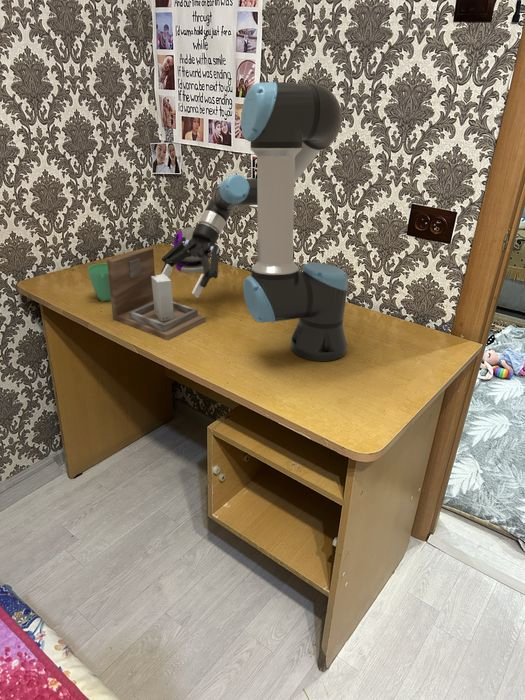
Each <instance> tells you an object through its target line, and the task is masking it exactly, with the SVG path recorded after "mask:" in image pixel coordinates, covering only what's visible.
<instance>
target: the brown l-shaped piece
mask: <svg viewBox="0 0 525 700" xmlns="http://www.w3.org/2000/svg"><path fill="white" fill-rule="evenodd" d="M154 253H155V252H154V248H152V247H146V248H143V249H139V250H136V251H133V252H129V253H126V254H123V255H120V256H116V257H114V258H110V259H107V260H106V261H107V262H106V263H107V265H108V275H109V285H110V295H111V300H110V302H111V314H112V315H111V316H112V319H113V320H115V321H117V322H120V323H123V324H125V325H128V326H129V327H133V328H135V329H138V330H141V331H143V332H146V333H148V334H151V335H154V336H155V337H159V338H161V339H164V340H167V341H170V340H171V339H173V338H176V337H177V336H179V335H181V334H183V333H185V332H187V331H189V330H191V329H193V328H195V327H197V326H199V325H201V324H204V323H205V322H206V316H204V315H202V314H199V311H198V309H197V308H194V307H190V306H188V305H184V304H182V303H179V302H176V301H173V311H174V319H173V320H169V321H160V320H159V319H158V317H157V316H156V315H155V311H154V300H153V290H152V279H151V276H155V275H156V274H155V273H156V272H155V256H154V255H155V254H154Z"/></svg>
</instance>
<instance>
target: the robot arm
mask: <svg viewBox="0 0 525 700" xmlns="http://www.w3.org/2000/svg"><path fill="white" fill-rule="evenodd" d="M342 115H343V114H342V108H341V106H340V103H339V100H338V99H337V98H336V95H334V93H333V92H332V91H331V90H329V89H328V88H327V87H325V86H323V85H321V84H316V83H295V82H281V81H280V82H279V81H270V82H269V81H265V82H257V83H256V82H255V83H254V84H253V85H251V87H250V88H249V89H248V91H247V92H246V95H245V97H244V100H243V104H242V108H241V114H240V129H241V135H242V137H243V139H245V140H246V141H248V142H250V150H251V151H252V152H253V153H254V155H255V156H256V159H257V160H256V161H257V162H256V163H257V164H256V165H257V168H256V170H257V172H256V173H257V174H256V176H257V178H256V177H255V178H246V177H244V176H242V175H240V174H231V175H229V176H228V177H227V178H225V179H224V180H223V181H221V182H219V183H218V185H217V186H216V188H215V189H214V190H213V194H212V196H211V197H210V200H209V201H208V203H207V206H206V208H205V209H204V211H203V213H202V215H201V217H200V218H199V220H198V224H196V226H195V227H194V228H195V229H194V231H193V234H192V238H191V240H187V239H186V238H185V237H182V239H181V240H180V242H179V243H178V244H177V245H176V246H175V247H174V246H173V248H171V249H170V250H169V251H168V252H167V253H166V254H165V255H164V256H163V257H161V261H162V262H163V263H164V265H163V267H162V269H161V270H160V275H162V274H165V275H166V276H167V277H168V278H169V277H170V276H171V274H172V272H173V269H174V268H173V267H174V266H176V264H177V263H179V262H180V261H182V260H184V259H185V258H187V257H191V256H194V257H198V258H201V259H202V264H203V269H204V271H203V273H201V274H200V276H199V278H198V280H197V282H196V284H195V286H194V287H193V289H192V292H191V294H192V295H193V296H194V297H195V298H197V299H198V298H199V296H200V295H201V293H202V291H203V290H204V288H206V287H207V285H208V283H209V281H210V280H211V279H218V275H219V256H220V253H221V249H220V247H219V246H218V245H217V244H216V243H217V242H218V240H219V237H220V235H221V234H222V232H223V230H224V228H225V226H226V224H227V222H228V220H229V218H230V216H231V214H232V213H233V211H234V210H235V209H236V208H237V207H240V206H241V207H242V206H244V207H245V206H256V205H257V212H256V213H257V261H256V263H254V264H253V265H252V267H251V275H249V276H247V277H245V278H244V281H243V285H242V287H243V288H242V291H243V297H244V302H245V306H246V308H247V311H248V312H249V314H250V316H251V318H253V320H254V321H255V322H257V323H275V322H281V321H289V320H296V319H297V320H298V322H297V325H296V326H295V328H294V331H293V333H292V335H291V338H290V350H291V351H292V352H293V353H294V354H295V355H297V356H298V357H300V358H303V359H306V360H309V361H315V362H331V360H332V361H336V360H339V359H341V358H342V357H344V356H345V355H344V354H346V353H345V352H347V343H348V342H347V339H346V334H345V330H344V325H343V324H344V315H345V308H346V300H347V293H348V292H347V291H348V290H349V289H348V288H349V286H348V281H349V280H348V279H349V277H348V274H347V272H346V271H344V270H343V269H342V268H339V267H337V266H334V265H331V264H328V263H322V262H307V263H305V264H304V265H303V267H302V271H300V270H299V269H300V267H299V266H298V265H297V264H296V263H295V262H294V224H295V223H294V222H295V221H294V218H295V217H294V216H295V215H294V214H295V213H294V212H295V183H296V182H297V181H298V179H300V177H301V176H302V175H303V173H304V172H305V171H306V170H307V168H308V167H309V166H310V165H311V163H312V162H313V161H314V160H315V158H316V157H317V156H318V155H319V153H320V152H321V151H325V150H327V149H328V148H329V147H330V146H332V144H333V143H334V141H335V140H336V138H337V137H338V135H339V133H340V131H341V126H342V122H343V121H342V119H343V116H342ZM188 250H189V252H188ZM209 253H211V255H210V258H209ZM209 260H210V262H209ZM169 279H170V278H169ZM343 355H344V356H343ZM340 357H341V358H340ZM338 358H339V359H338Z"/></svg>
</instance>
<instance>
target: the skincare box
mask: <svg viewBox="0 0 525 700" xmlns="http://www.w3.org/2000/svg"><path fill="white" fill-rule="evenodd" d="M151 279H152V290H153V300H154V311H155V315H156V316H157V317H158V319H159V320H160V321H169V320H173V319H174V311H173V302H174V300H173V298H174V297H173V287H172V280H171V279H170V278H168V277H167V276H166V275H165V274H162V275H161V274H157V275H156V274H155V276H151Z"/></svg>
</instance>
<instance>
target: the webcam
mask: <svg viewBox="0 0 525 700" xmlns="http://www.w3.org/2000/svg"><path fill="white" fill-rule="evenodd" d="M195 228H196V227H190V226H188V227H185V228H182V229H181V230H179V231H178V232H177V233H176V234H175V237H174V242H173V248H174V247H175V246H176V245H177V244H178V243H179V242H180V240H181V239H182V237H185V238H186V239H187V240H191V238H192V234H193V231H194V229H195ZM188 252H189V250H188ZM175 268H176V270H177V271H180V272H181V273H184V274H197V273H202V272H204V269H203V264H202V259H201V258H198V257H194V256H191V257H187V258H185V259H184V260H182V261H180V262H179V263H177V264H175Z"/></svg>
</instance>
